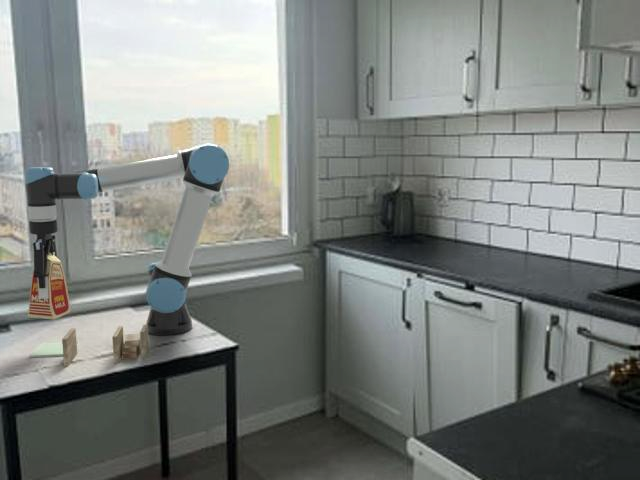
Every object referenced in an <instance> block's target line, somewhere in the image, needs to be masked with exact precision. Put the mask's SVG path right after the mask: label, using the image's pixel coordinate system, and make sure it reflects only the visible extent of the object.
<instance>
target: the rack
mask: <svg viewBox="0 0 640 480" xmlns="http://www.w3.org/2000/svg"><path fill="white" fill-rule="evenodd" d="M139 335H140V352H141V353H140V354H141V359H146V358H147V355H148V354H147V353H149V350H150V347H149V345H150V342H149V333H148V325H146V324H143V325H142V326H141V330H140V333H139ZM111 337H112V351H113V363H114V364H119V362H120V361H121V359H122V347H123V345H124V326H123V325H118V326H117V328H116V330H115V332H114V333H113V335H112V336H111ZM61 340H62V341H61V342H62V344H63V356H62V357H63V366H64V367H69V366H70V365H71V363H72V362H73V360H74V359H75V358H76V356H77V355H78V346H77V345H78V342H77V343H76V341H77V331H76V328H75V327H71V328H70V329H69V330H68V332H66V334H65V335H64V336H63V337H62V339H61Z"/></svg>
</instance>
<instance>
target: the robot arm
mask: <svg viewBox="0 0 640 480" xmlns="http://www.w3.org/2000/svg"><path fill="white" fill-rule="evenodd" d="M229 169H230V161H229V156H228V154H227V152H226V151H225V150H224V149H223V148H222V147H221V146H219V145H217V144H214V143H213V144H212V143H202V144H199V145H197V146H194V147H191V148H189V149H183V150H179V151H178V152H177V154H174V155H167V156H161V157H157V158H156V157H155V158H150V159H145V160H140V161H133V162H127V163H122V164H116V165H109V166H105V167H98V168H94V169H88V170H80V171H77V172H75V173H55V172H54V169H53V167H51V166H35V167H33V166H31V167H28V168H27V169H25V190H26V197H27V198H26V199H27V208H26V210H25V211H26V212H27V213H28V219H29V220H30V221H29V223H28V224H29V225H28V227H29V233H30V235H36V240H35V242H33V243H32V248H33V271H34V278H36V277H37V281H38V294H39V299H48V298H49V295H48V276H47V275H46V273H47V256H48V255H49V252H50V253H51V254H52V255H53V254H54V252H55V256H56V257H57V258H58V253H57V245H56V235H53V234H56V233H57V232H58V221H57V217H58V215H57V214H58V213H57V204H56V203H57V202H56V200H85V201H86V200H91V199H93V200H95V199H96V198H97V197H98V195H99V193H103V192H108V191H110V192H111V191H114V190H121V189H124V188H130V187H131V188H132V187H137V186H143V185H148V184H154V183H160V182H166V181H171V180H176V179H182V182H183V184H184V186H185V189H184V192H183V194H182V197H181V201H180V204H179V208H178V210H177V213H176V217H175V219H174V223H173V226H172V229H171V231H170V234H169V238H168V240H167V244H166V247H165V251H164V252H163V256H162V259H161V260H160V261H158V262H151V263H149V264H148V271H147V272H148V283H147V284H148V285H147V288H146V289H145V290H146V291H145V297H146V301H147V303H148V305H149V307H150V309H149V312H148V315H147V320H146V324H145V325H148V334H151V335H154V336H155V335H156V336H171V335H172V336H174V335H179V334H183V333H186V332H188V331H190V330H192V328H193V321H192V317H191V314H190V312H189V310H188V307H187V303H186V302H187V301H186V300H187V299H186V298H187V290H188V287H189V285H190V281H191V278H192V275H193V274H192V271H191V270H190V266H191V263H192V260H193V256H194V253H195V251H196V247H197V245H198V242H199V238H200V235H201V233H202V230H203V227H204V223H205V221H206V218H207V214H208V211H209V209H210V206H211V202H212V199H213V197H214V196H215V195H217V194H219V193H220V191H221V188H222V185H223V183H224V179H225V177H227V175H228V173H229Z"/></svg>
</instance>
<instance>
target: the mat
mask: <svg viewBox="0 0 640 480" xmlns="http://www.w3.org/2000/svg"><path fill="white" fill-rule="evenodd" d="M76 343H77V344H78V341H77V340H76ZM47 357H48V358H49V357H50V358H52V357H63V344H62V341H60V342H59V341H58V342H41V343H39V344H38V346H36V347H35V349H34V350H33V351H32V352H31V353H30V354H29V355H28V358H29V359H30V358H31V359H33V358H47Z"/></svg>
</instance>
